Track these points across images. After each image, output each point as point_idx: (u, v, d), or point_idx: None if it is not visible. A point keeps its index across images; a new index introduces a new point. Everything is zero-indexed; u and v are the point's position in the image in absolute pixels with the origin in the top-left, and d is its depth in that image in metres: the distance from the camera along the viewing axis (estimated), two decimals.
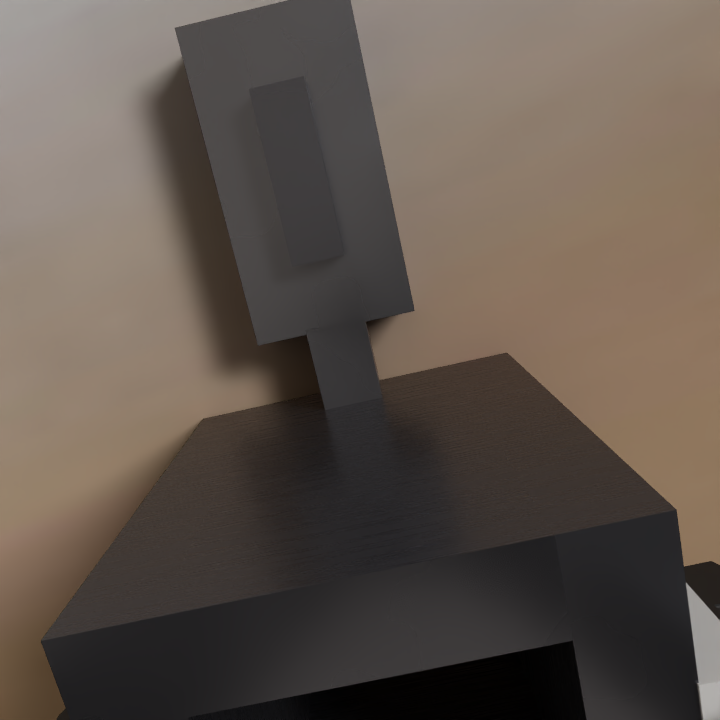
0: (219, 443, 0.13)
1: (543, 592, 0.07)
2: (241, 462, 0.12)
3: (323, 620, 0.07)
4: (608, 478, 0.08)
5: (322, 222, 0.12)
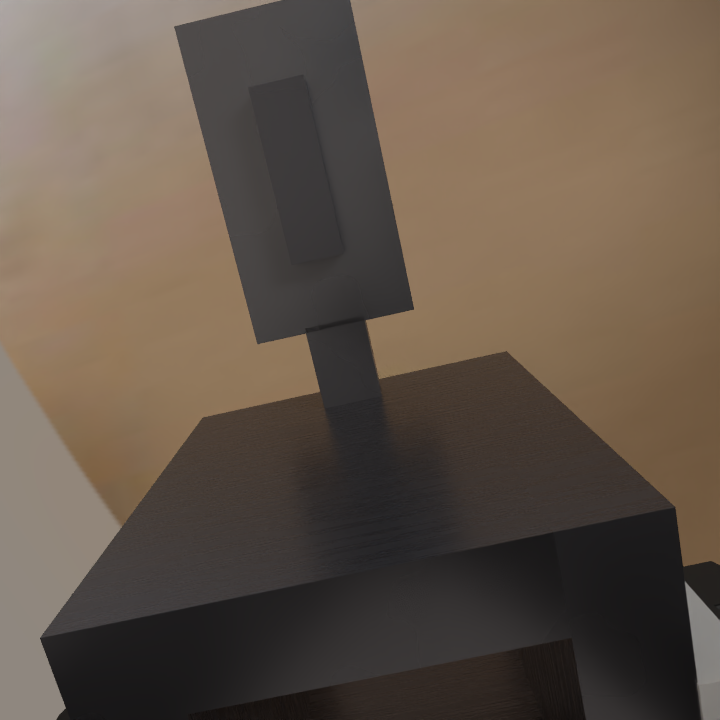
0: (219, 442, 0.13)
1: (542, 589, 0.07)
2: (241, 460, 0.12)
3: (322, 617, 0.07)
4: (606, 476, 0.08)
5: (321, 221, 0.12)
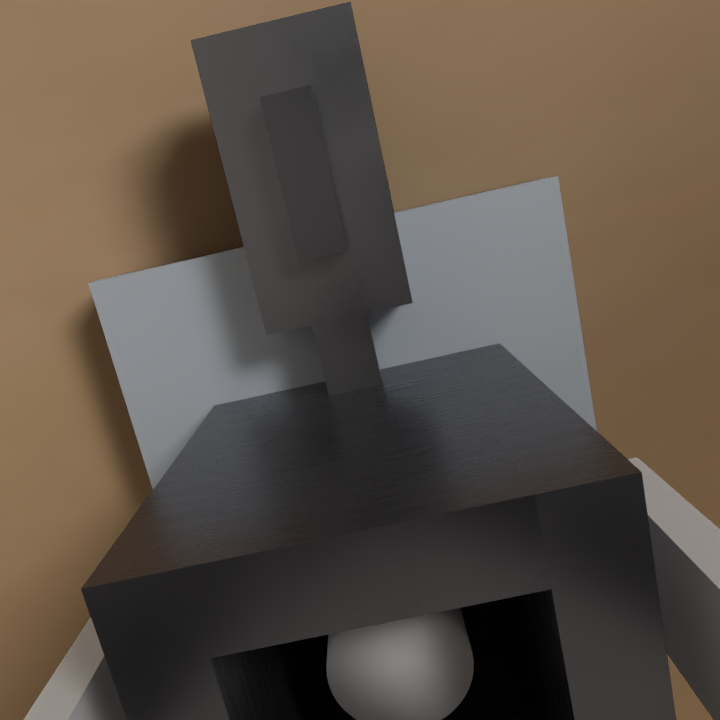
0: (231, 426, 0.14)
1: (525, 545, 0.08)
2: (252, 442, 0.13)
3: (331, 570, 0.08)
4: (584, 448, 0.09)
5: (327, 220, 0.13)
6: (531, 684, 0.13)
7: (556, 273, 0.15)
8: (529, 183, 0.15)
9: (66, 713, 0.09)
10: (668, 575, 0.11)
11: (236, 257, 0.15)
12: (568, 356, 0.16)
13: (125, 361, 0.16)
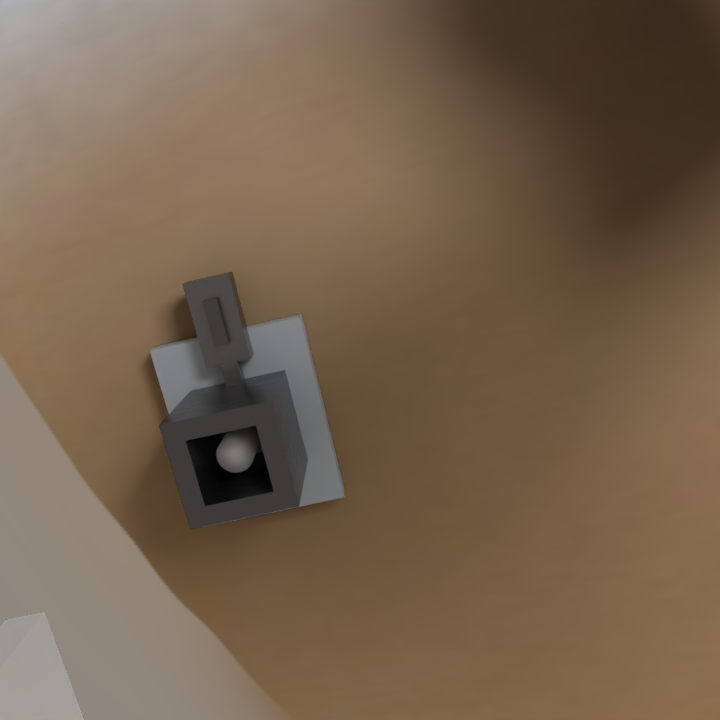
0: (194, 396, 0.46)
1: (249, 416, 0.40)
2: (199, 399, 0.44)
3: (210, 421, 0.40)
4: (268, 397, 0.41)
5: (222, 335, 0.45)
6: None
7: (301, 347, 0.47)
8: (291, 319, 0.47)
9: None
10: None
11: (197, 342, 0.47)
12: (308, 374, 0.48)
13: (161, 375, 0.48)
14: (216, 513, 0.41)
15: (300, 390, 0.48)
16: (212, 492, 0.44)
